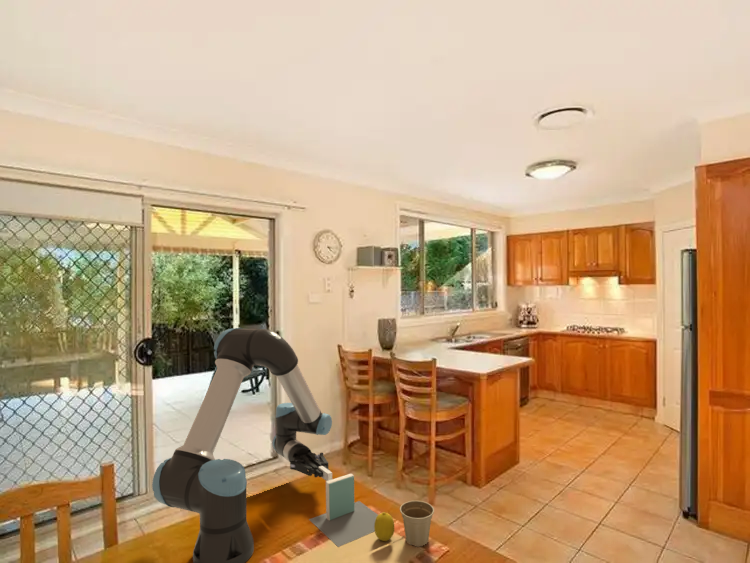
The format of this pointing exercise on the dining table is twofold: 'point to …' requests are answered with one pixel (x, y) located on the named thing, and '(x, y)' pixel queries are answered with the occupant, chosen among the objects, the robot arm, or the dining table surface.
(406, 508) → the flower pot
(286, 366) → the robot arm
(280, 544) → the dining table surface
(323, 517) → the mat
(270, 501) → the dining table surface
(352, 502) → the tile
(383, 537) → the lemon
